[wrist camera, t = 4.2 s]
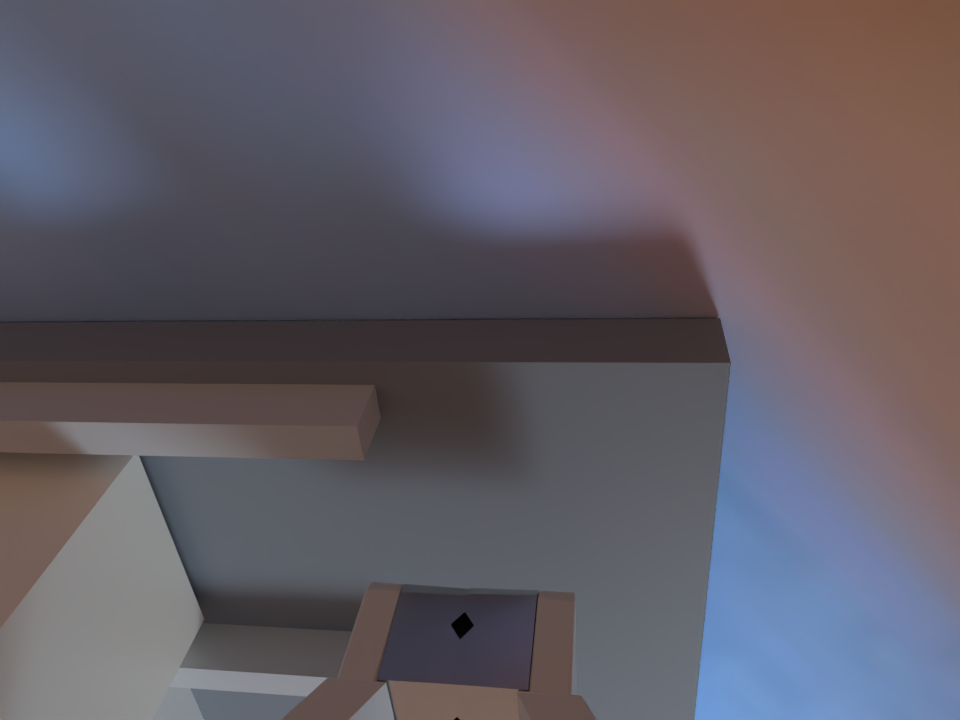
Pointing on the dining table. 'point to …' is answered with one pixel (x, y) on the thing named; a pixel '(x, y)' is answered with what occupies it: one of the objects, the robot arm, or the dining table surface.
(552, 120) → the dining table surface
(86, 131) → the dining table surface
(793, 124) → the dining table surface
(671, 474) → the panel
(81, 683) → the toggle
